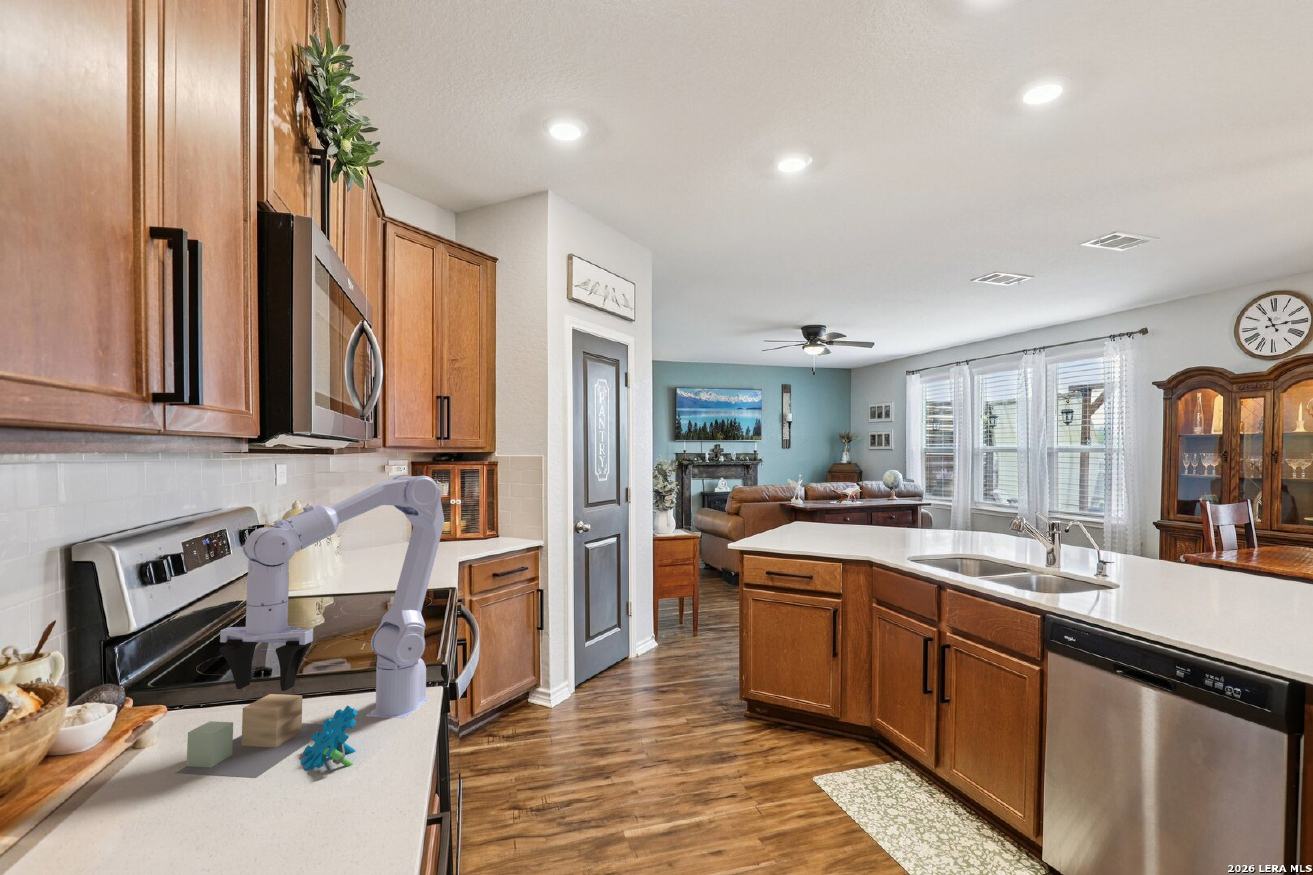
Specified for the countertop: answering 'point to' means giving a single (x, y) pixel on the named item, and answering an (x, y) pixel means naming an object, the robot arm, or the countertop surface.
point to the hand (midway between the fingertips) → (265, 687)
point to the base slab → (271, 734)
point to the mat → (255, 756)
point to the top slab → (272, 711)
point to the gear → (331, 740)
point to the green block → (209, 744)
